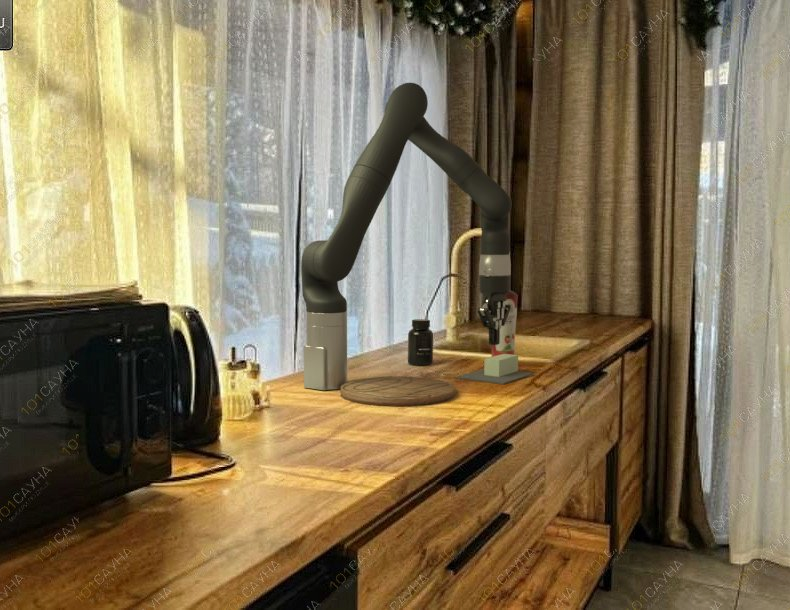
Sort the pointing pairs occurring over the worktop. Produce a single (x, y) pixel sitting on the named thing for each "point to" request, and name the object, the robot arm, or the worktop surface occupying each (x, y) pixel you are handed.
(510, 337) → the red sauce bottle
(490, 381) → the mat
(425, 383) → the trivet
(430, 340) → the supplement bottle
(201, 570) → the worktop surface
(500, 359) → the block
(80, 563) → the worktop surface
